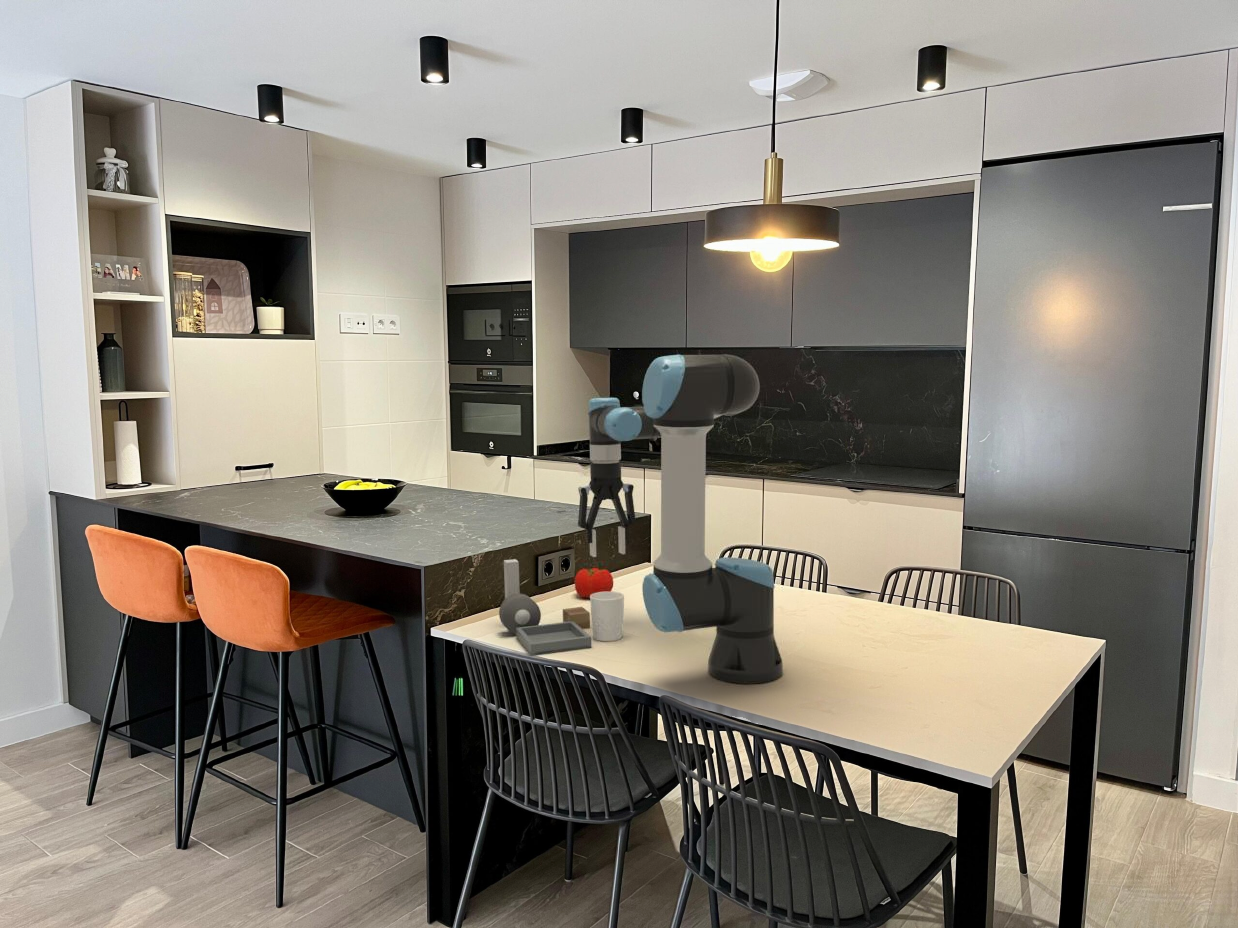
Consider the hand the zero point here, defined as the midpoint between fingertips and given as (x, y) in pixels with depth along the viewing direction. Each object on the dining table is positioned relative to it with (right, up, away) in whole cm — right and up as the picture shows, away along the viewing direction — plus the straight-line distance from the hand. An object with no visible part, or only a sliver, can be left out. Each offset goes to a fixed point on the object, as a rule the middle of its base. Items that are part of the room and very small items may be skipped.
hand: (607, 554), depth 223 cm
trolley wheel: (-22, -18, -3) cm, 28 cm away
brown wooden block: (-8, -18, -1) cm, 19 cm away
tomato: (-4, -15, +28) cm, 32 cm away
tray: (-12, -19, -14) cm, 27 cm away
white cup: (0, -19, -11) cm, 21 cm away
